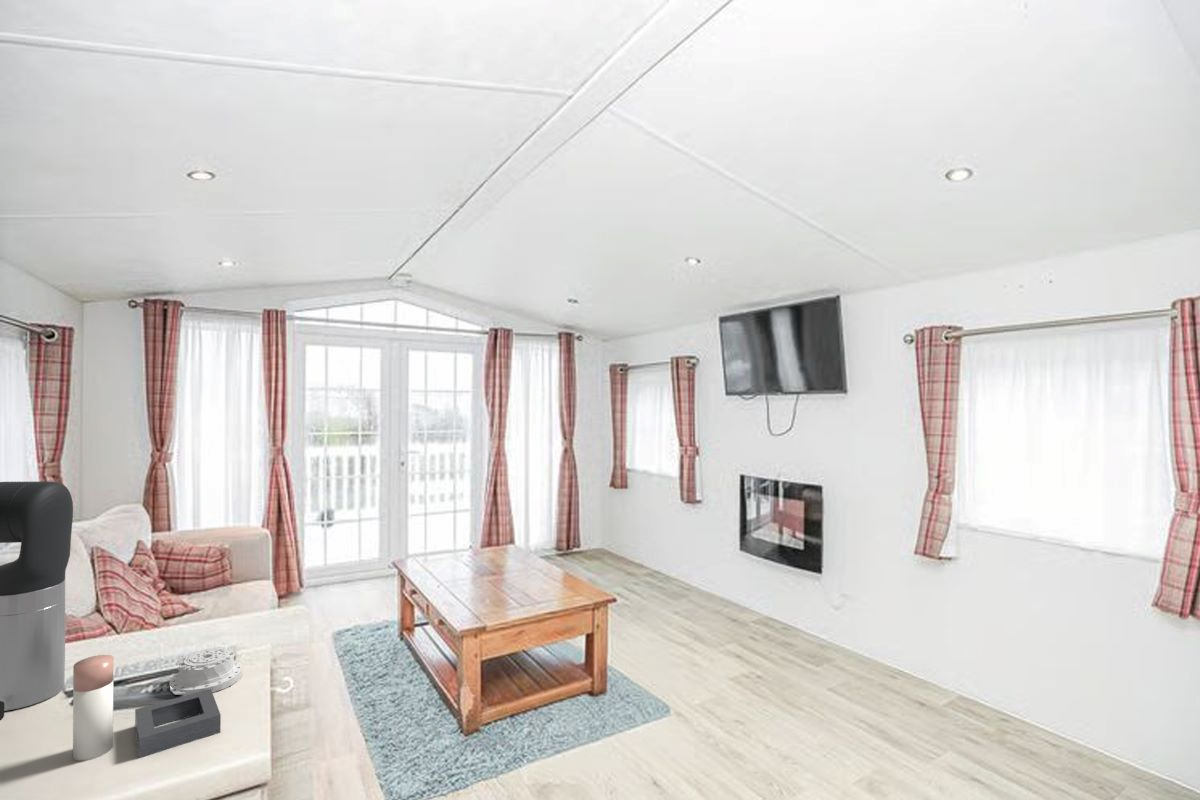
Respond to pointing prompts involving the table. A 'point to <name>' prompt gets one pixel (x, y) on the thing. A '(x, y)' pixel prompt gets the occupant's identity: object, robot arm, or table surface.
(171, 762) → the table surface
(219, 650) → the mechanical component
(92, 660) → the peg
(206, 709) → the socket
